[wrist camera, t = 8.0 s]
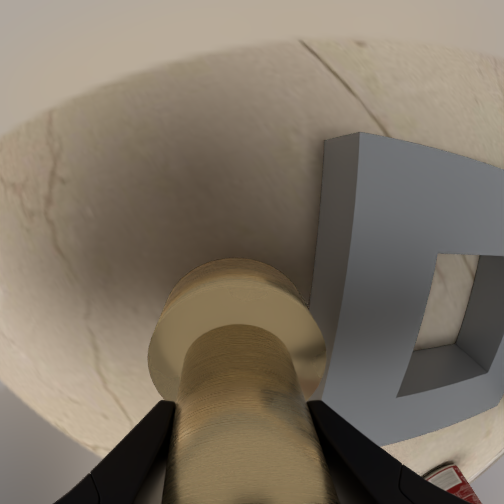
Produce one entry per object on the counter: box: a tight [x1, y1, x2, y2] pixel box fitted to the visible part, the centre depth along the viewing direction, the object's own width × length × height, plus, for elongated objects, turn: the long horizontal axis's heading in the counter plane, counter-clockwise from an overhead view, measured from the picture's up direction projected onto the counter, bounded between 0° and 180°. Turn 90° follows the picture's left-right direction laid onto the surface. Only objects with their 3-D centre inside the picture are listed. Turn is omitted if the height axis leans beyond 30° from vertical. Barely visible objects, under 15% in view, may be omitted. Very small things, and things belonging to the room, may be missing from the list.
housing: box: [306, 132, 504, 447], centre depth 14 cm, size 16×16×4 cm
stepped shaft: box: [148, 258, 340, 504], centre depth 8 cm, size 6×6×10 cm
